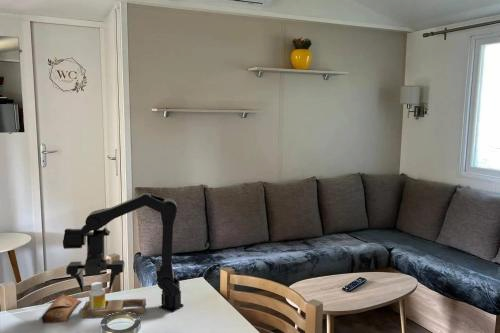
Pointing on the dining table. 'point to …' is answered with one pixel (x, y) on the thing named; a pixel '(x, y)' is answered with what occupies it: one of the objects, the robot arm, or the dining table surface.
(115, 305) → the walnut dock
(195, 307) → the dining table surface
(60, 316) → the sunglasses case
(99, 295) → the supplement bottle
